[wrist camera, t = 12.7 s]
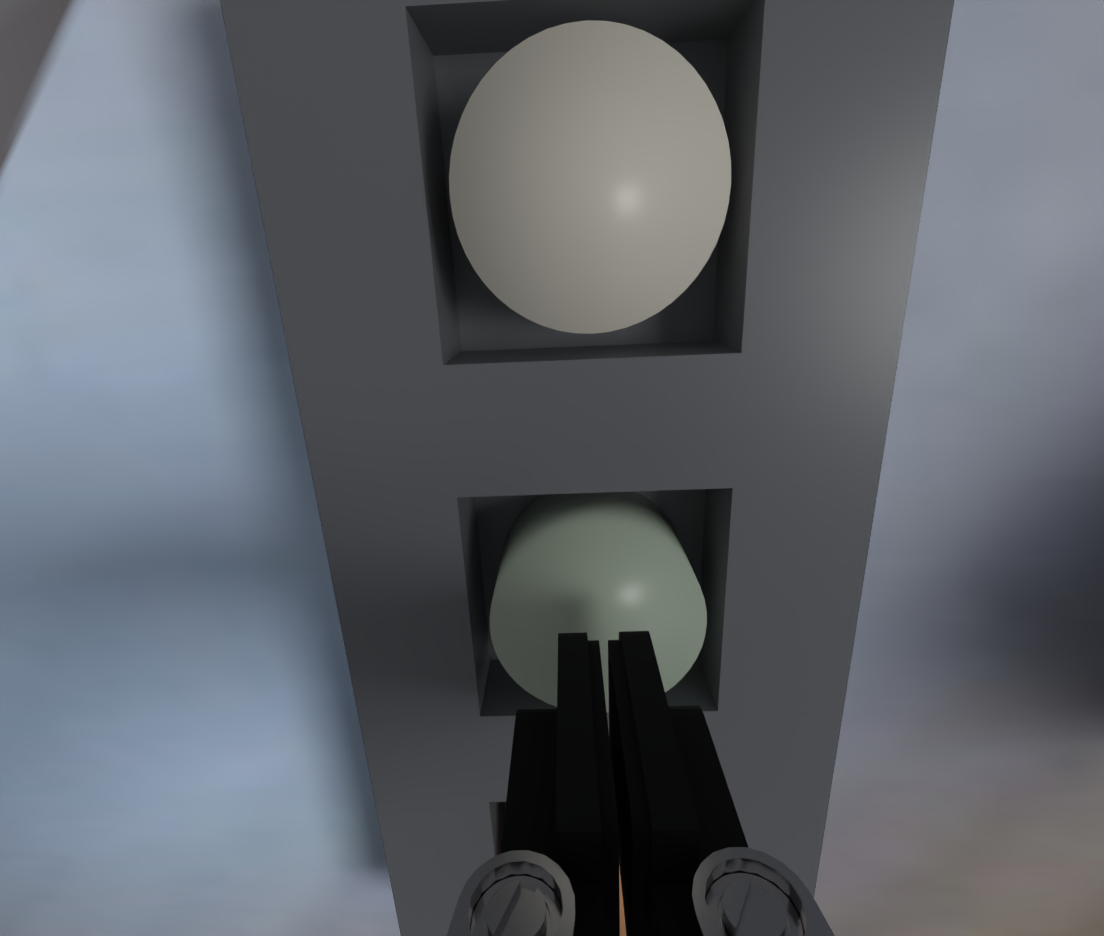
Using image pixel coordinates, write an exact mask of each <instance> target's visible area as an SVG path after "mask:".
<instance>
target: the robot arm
mask: <svg viewBox="0 0 1104 936" xmlns="http://www.w3.org/2000/svg"><path fill="white" fill-rule="evenodd" d="M608 690H609V730H608V721H607V711H606V702H605V692H604V683H603V673H602V664H601V654H600V645H599V640H588V638H587V632H583V633H558V678H557V709H517V712H516V718H515V726H514V735H513V744H512V753H511V762H510V771H509V780H508V789H507V798H506V807H505V816H504V825H503V834H502V843H501V852H500V854H499V855H496V856H494V857H492V858H491V859H489V860H488V861H486V862H485V863H483V864H482V865H480V866H479V867H478V868H477V869H476V871H475V872H474V873H473V874H472V875H471V876H470V878H469V879H468V880H467V881H466V884H465V886H464V888H463V890H462V892H461V894H460V896H459V898H458V901H457V905H456V908H455V911H454V914H453V917H452V920H451V924H450V927H449V930H448V933H447V936H620V898H619V866H620V876H621V886H622V896H623V906H624V916H625V926H626V936H835V935H834V934H833V932H832V930H831V928H830V927H829V925H828V923H827V921H826V919H825V918H824V916H823V914H822V912H821V911H820V909H819V907H818V905H817V903H816V902H815V900H814V898H813V896H812V895H811V893H810V892H809V890H808V889H807V888H806V886H805V885H804V883H803V882H802V881H801V879H800V878H799V877H798V876H797V875H796V874H795V873H794V872H793V871H792V870H791V869H789V868H788V867H787V866H786V865H785V864H784V863H783V862H781V861H779V860H777V859H776V858H774V857H772V856H770V855H768V854H766V853H765V852H762V851H758V850H754V849H751V848H749V847H748V844H747V841H746V838H745V835H744V832H743V829H742V827H741V824H740V821H739V818H738V815H737V812H736V809H735V806H734V803H733V800H732V797H731V794H730V791H729V788H728V785H727V782H726V779H725V776H724V773H723V770H722V767H721V764H720V761H719V758H718V755H717V752H716V749H715V746H714V743H713V740H712V737H711V734H710V731H709V728H708V725H707V722H706V719H705V716H704V714H703V711H702V709H701V708H700V706H699V705H698V706H668V702H667V699H666V695H665V691H664V687H663V683H662V679H661V675H660V671H659V667H658V663H657V660H656V656H655V652H654V648H653V644H652V640H651V636H650V633H649V631H622V632H619V640H608Z"/></svg>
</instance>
